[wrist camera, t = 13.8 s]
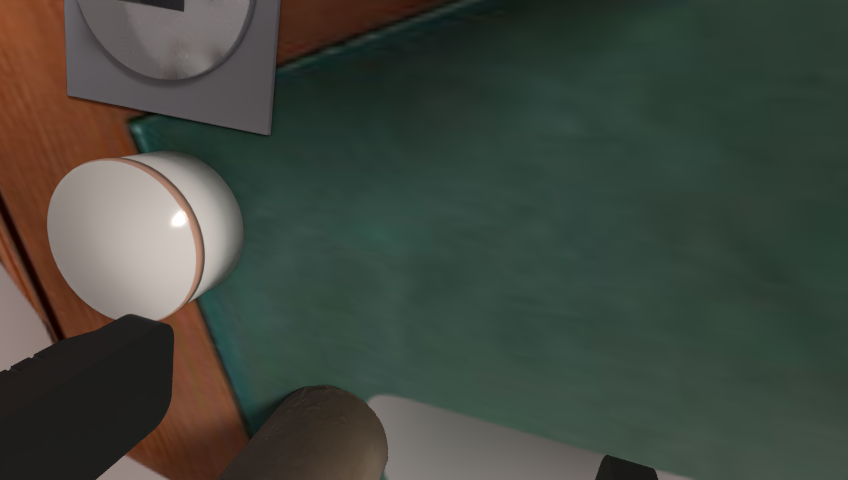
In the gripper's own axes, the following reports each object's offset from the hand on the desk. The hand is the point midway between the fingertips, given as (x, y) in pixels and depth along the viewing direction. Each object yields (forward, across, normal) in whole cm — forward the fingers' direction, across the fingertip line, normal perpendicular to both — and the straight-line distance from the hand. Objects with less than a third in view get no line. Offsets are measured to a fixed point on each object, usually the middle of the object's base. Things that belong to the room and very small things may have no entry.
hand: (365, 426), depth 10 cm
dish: (+27, +23, +9) cm, 37 cm away
